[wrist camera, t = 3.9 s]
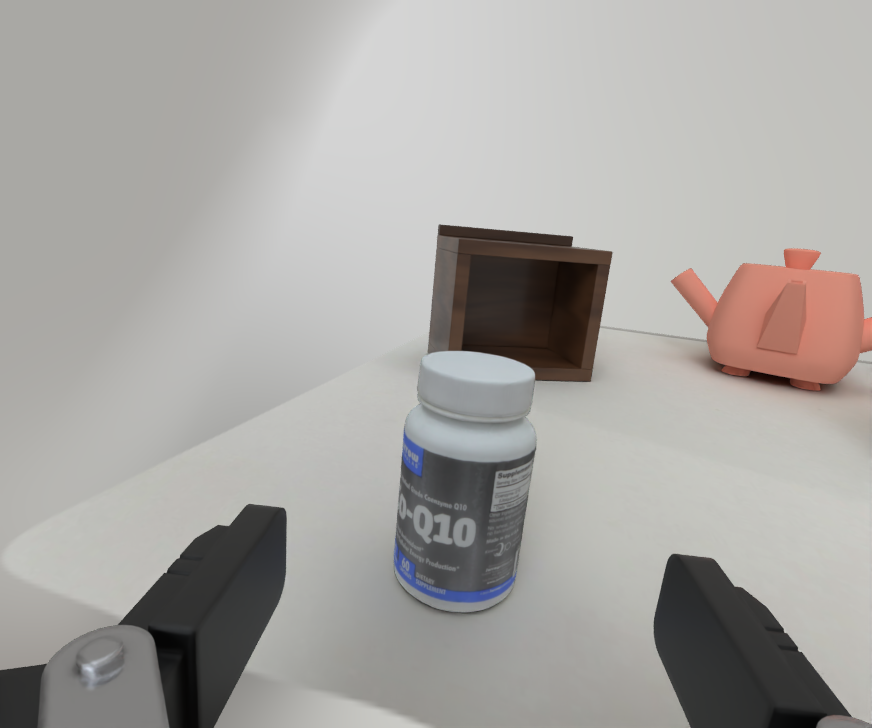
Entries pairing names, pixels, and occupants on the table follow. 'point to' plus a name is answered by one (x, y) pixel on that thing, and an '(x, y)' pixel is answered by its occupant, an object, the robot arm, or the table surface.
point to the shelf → (519, 299)
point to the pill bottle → (465, 480)
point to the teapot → (784, 320)
